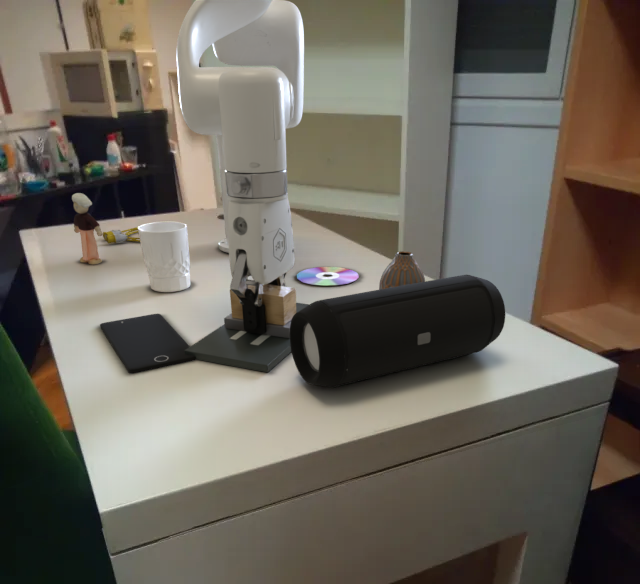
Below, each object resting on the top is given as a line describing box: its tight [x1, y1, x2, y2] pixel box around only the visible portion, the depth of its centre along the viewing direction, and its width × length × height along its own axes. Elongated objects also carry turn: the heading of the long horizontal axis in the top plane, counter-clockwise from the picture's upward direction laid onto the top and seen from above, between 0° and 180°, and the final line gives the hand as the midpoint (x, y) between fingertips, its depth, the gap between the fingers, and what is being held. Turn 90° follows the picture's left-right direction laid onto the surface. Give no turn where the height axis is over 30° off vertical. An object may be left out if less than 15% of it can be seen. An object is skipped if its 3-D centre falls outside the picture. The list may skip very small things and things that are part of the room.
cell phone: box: [99, 313, 197, 375], centre depth 81 cm, size 9×18×1 cm, turn 29°
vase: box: [378, 250, 426, 290], centre depth 88 cm, size 7×7×9 cm
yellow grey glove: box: [102, 226, 141, 244], centre depth 132 cm, size 12×16×2 cm
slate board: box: [185, 302, 311, 373], centre depth 83 cm, size 22×12×1 cm, turn 157°
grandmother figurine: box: [71, 192, 103, 266], centre depth 112 cm, size 8×4×13 cm, turn 68°
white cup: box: [137, 220, 192, 293], centre depth 99 cm, size 8×8×10 cm
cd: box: [296, 266, 360, 287], centre depth 106 cm, size 11×11×1 cm
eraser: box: [223, 284, 297, 338], centre depth 81 cm, size 10×5×6 cm, turn 67°
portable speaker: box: [290, 274, 506, 388], centre depth 71 cm, size 26×10×10 cm, turn 117°
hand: (264, 323), depth 82 cm, fingers closed on eraser, 4 cm apart
